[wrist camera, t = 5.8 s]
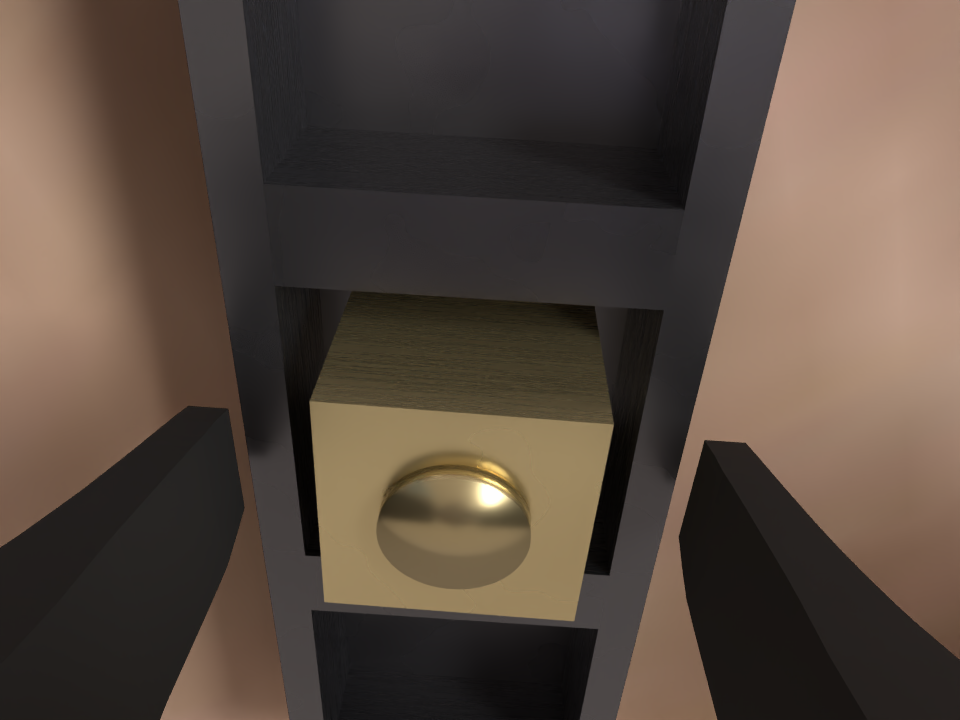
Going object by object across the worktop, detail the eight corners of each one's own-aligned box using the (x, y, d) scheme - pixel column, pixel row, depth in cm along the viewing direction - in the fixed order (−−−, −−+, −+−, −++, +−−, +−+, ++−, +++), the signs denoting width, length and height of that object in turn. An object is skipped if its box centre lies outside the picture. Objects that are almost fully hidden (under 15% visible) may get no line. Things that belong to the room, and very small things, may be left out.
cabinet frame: (818, -446, 9) (936, -564, 6) (584, 697, 21) (592, 811, 18) (206, -478, 9) (84, -607, 6) (327, 679, 21) (300, 792, 19)
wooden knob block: (590, 282, 13) (616, 439, 10) (562, 457, 16) (575, 637, 12) (361, 264, 13) (304, 415, 10) (366, 441, 16) (320, 617, 12)
